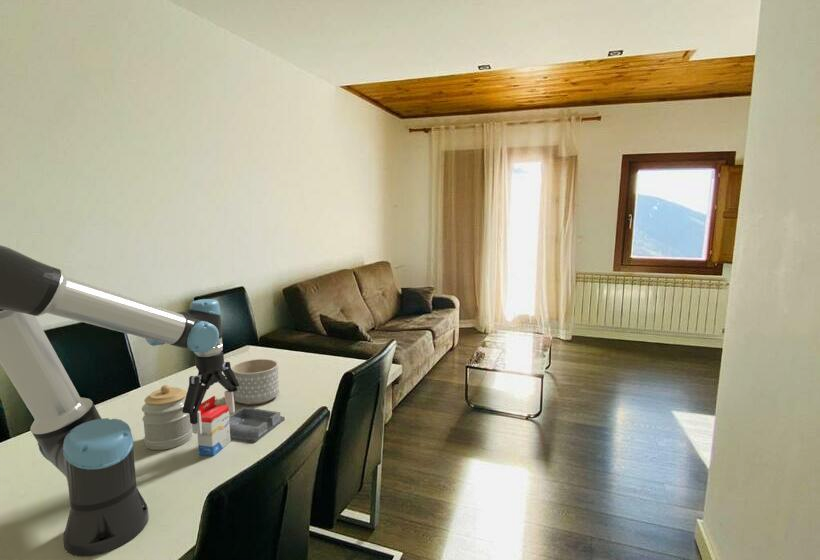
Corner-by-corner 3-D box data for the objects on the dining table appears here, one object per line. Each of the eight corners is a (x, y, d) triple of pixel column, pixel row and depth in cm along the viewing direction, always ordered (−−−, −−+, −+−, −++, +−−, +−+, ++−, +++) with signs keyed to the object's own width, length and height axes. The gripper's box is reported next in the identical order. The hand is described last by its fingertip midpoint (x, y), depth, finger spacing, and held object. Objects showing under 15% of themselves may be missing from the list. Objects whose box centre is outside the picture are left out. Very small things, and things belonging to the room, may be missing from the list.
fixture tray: (255, 442, 130) (254, 431, 130) (214, 435, 134) (213, 425, 134) (284, 419, 145) (284, 409, 145) (247, 414, 150) (246, 404, 149)
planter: (224, 404, 158) (222, 371, 156) (250, 387, 173) (249, 357, 172) (263, 409, 154) (262, 375, 152) (287, 391, 170) (285, 360, 168)
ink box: (213, 456, 123) (210, 408, 121) (198, 454, 124) (194, 406, 122) (231, 441, 131) (228, 396, 129) (217, 440, 132) (214, 394, 130)
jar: (201, 436, 134) (198, 382, 132) (160, 455, 123) (155, 397, 121) (177, 426, 141) (173, 374, 138) (136, 443, 130) (131, 388, 127)
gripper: (186, 368, 110) (193, 445, 114) (247, 341, 134) (252, 405, 137) (162, 366, 112) (170, 441, 116) (227, 339, 136) (232, 402, 139)
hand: (214, 421), depth 126 cm, fingers open, 13 cm apart
